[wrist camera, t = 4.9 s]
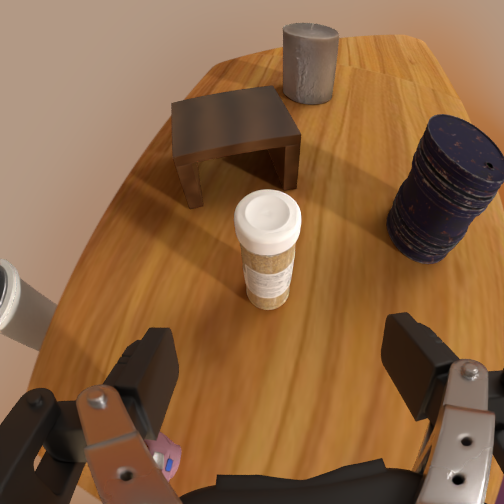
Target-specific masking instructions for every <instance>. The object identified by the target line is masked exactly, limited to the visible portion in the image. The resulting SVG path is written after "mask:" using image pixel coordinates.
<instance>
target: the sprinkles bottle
mask: <svg viewBox="0 0 504 504" xmlns="http://www.w3.org/2000/svg"><path fill="white" fill-rule="evenodd" d="M234 223H235V230H236V235H237V238H238V240H239V242H240V247H241V254H242V260H243V271H244V277H245V282H246V285H247V288H246V292H247V296H248V298H249V300H250V301H251V303H252V304H254V305H255V306H256V307H258V308H261V309H264V310H273V309H276V308H278V307H280V306H281V305H282V304H283V303H285V301H286V300H287V298H288V295H289V290H290V289H289V285H290V282H291V276H292V269H293V263H294V257H295V244H296V241H297V239H298V237H299V233H300V226H301V212H300V209H299V206H298V205H297V203H296V202H295V201H294V199H292V198H291V197H290V196H289V195H287V194H285V193H283V192H280V191H277V190H270V189H265V190H259V191H255V192H252V193H250V194H248V195H247V196H245V197H244V198H243V199H242V200H241V201H240V202H239V204H238V205H237V207H236V209H235V213H234Z"/></svg>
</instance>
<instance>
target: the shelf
mask: <svg viewBox="0 0 504 504" xmlns="http://www.w3.org/2000/svg"><path fill="white" fill-rule="evenodd" d="M300 143H301V133H300V131H299V129H298V128H297V126H296V124H295V122H294V121H293V119H292V117H291V115H290V114H289V112H288V110H287V108H286V107H285V105H284V103H283V102H282V100H281V98H280V97H279V95H278V93H277V92H276V90H275V88H274V87H273V86H264V87H256V88H249V89H242V90H235V91H229V92H223V93H217V94H212V95H207V96H201V97H197V98H192V99H187V100H183V101H178V102H174V103H172V152H173V160H174V163H175V166H176V169H177V172H178V175H179V178H180V181H181V184H182V187H183V190H184V193H185V196H186V199H187V202H188V205H189V208H190V209H193V208H198V207H202V206H203V199H202V192H201V185H200V178H199V171H198V163H197V162H201V161H205V160H210V159H215V158H220V157H225V156H230V155H236V154H241V153H247V152H252V151H258V150H264V149H268V152H269V154H270V157H271V159H272V162H273V164H274V167H275V170H276V172H277V175H278V177H279V180H280V183H281V185H282V188H283V190H289V189H295V188H297V178H298V167H299V155H300Z"/></svg>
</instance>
